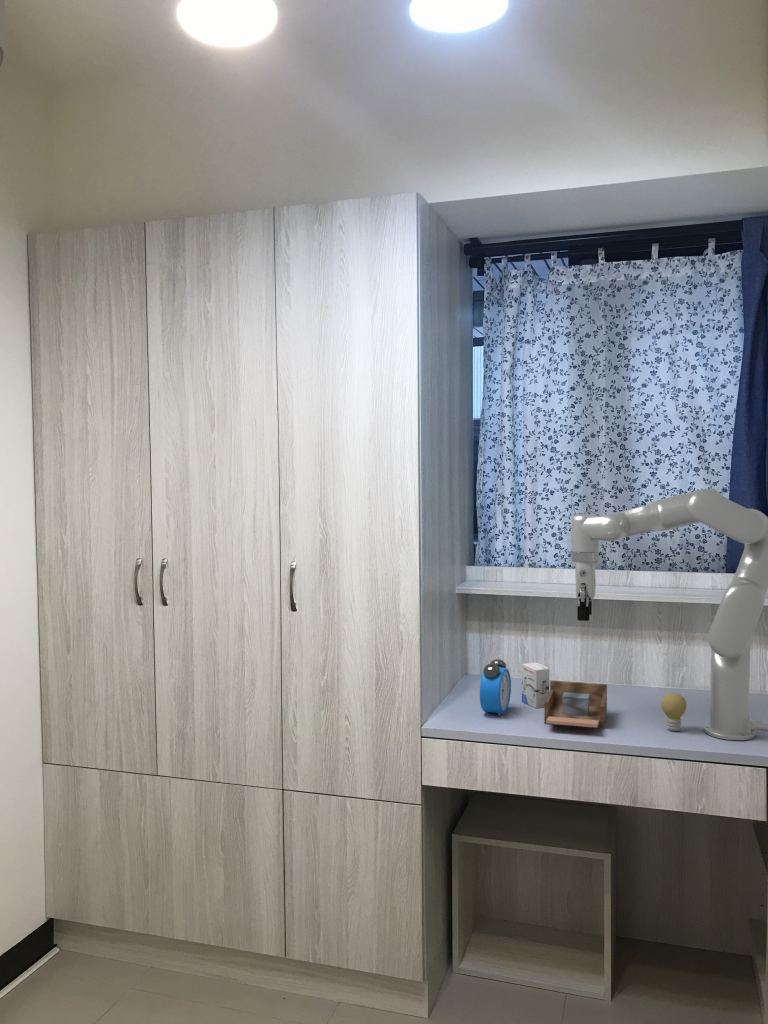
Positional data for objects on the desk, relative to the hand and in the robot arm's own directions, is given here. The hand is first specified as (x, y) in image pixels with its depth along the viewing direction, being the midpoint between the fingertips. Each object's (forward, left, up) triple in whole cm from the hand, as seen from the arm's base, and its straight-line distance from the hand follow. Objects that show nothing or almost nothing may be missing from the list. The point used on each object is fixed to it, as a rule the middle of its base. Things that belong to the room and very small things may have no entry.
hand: (584, 617), depth 237 cm
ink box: (+15, -8, -29) cm, 33 cm away
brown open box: (+2, +4, -28) cm, 29 cm away
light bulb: (-24, +7, -28) cm, 38 cm away
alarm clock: (+25, +4, -28) cm, 38 cm away
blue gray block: (+2, +5, -26) cm, 27 cm away
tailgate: (+2, +12, -26) cm, 29 cm away
